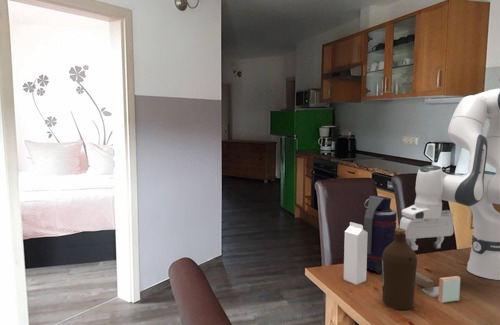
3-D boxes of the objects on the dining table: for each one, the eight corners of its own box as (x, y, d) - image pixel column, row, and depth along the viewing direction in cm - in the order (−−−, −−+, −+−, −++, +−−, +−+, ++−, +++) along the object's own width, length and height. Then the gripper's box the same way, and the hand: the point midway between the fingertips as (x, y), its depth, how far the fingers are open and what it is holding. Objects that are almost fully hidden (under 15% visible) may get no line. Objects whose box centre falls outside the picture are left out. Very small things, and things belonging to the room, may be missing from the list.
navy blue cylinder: (376, 261, 162) (378, 192, 159) (400, 270, 152) (403, 197, 149) (354, 268, 154) (355, 196, 151) (378, 278, 144) (380, 201, 141)
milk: (353, 275, 147) (354, 220, 145) (366, 280, 142) (368, 223, 140) (343, 279, 144) (344, 223, 141) (356, 285, 139) (357, 226, 137)
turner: (420, 277, 145) (420, 270, 145) (449, 294, 131) (449, 286, 130) (404, 279, 144) (404, 271, 143) (432, 297, 129) (432, 288, 129)
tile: (455, 298, 128) (457, 275, 127) (459, 300, 126) (460, 277, 125) (438, 300, 126) (439, 278, 125) (441, 303, 125) (443, 279, 124)
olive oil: (419, 302, 125) (422, 228, 123) (408, 314, 117) (411, 236, 115) (387, 292, 132) (390, 223, 130) (375, 304, 124) (377, 230, 122)
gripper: (446, 207, 140) (443, 244, 142) (397, 210, 135) (395, 248, 137) (459, 211, 134) (456, 249, 135) (408, 214, 129) (407, 253, 131)
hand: (425, 248), depth 136 cm, fingers open, 8 cm apart
